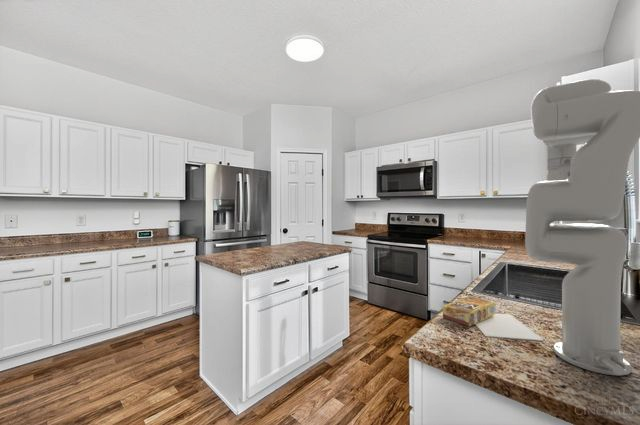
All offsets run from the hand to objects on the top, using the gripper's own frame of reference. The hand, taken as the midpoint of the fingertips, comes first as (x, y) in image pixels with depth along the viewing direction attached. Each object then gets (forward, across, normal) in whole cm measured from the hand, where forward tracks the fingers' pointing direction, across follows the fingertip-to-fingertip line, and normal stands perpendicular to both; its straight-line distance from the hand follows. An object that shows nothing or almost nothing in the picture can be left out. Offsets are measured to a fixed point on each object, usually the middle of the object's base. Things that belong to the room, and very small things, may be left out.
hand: (561, 217), depth 93 cm
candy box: (+29, -8, +28) cm, 41 cm away
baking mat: (+32, -18, +27) cm, 46 cm away
